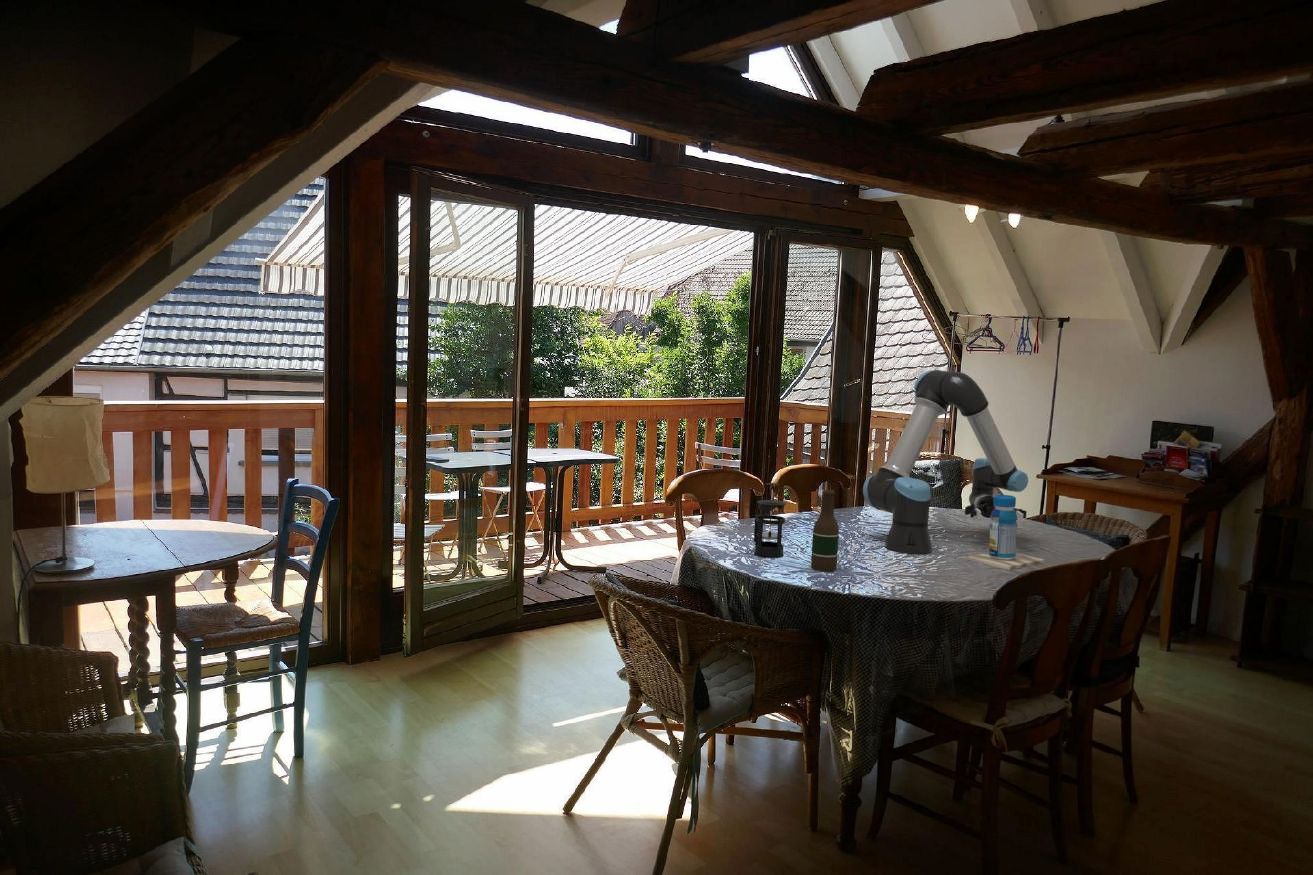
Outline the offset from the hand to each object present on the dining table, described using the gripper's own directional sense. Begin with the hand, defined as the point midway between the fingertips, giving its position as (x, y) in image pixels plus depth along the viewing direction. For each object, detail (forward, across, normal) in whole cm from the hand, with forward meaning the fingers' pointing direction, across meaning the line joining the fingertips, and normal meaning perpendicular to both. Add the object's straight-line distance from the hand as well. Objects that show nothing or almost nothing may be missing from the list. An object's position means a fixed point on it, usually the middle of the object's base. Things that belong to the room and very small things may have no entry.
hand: (1000, 516), depth 319 cm
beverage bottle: (+12, +1, -11) cm, 16 cm away
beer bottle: (+40, +59, -12) cm, 73 cm away
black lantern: (+26, +76, -12) cm, 82 cm away
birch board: (+12, 0, -12) cm, 17 cm away
